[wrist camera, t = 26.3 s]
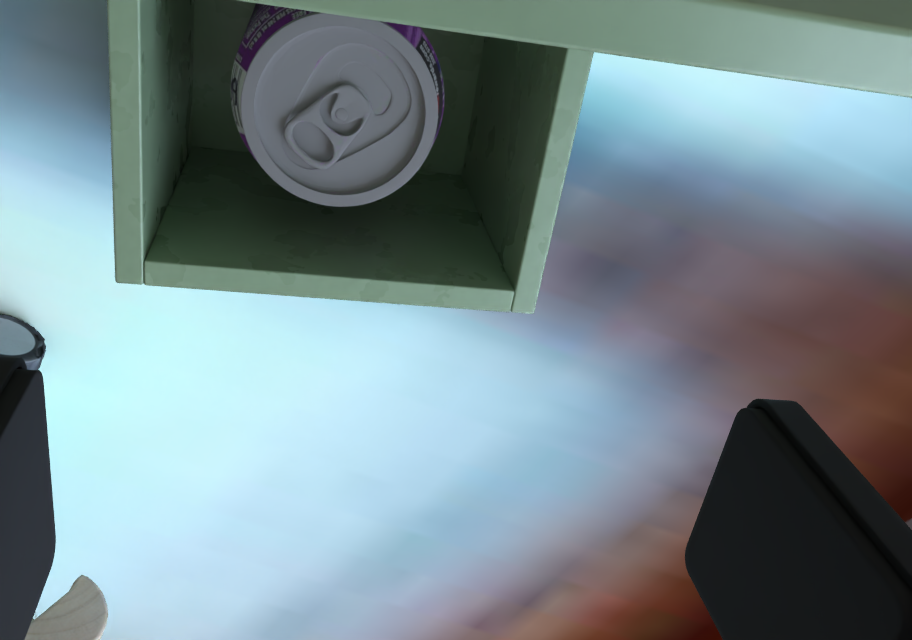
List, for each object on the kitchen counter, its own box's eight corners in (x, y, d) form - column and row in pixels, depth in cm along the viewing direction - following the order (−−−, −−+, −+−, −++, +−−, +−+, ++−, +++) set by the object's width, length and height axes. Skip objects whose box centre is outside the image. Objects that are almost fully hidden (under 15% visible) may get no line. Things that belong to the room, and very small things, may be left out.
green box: (472, 188, 42) (534, 315, 30) (174, 156, 39) (114, 283, 27) (539, -188, 34) (655, -211, 23) (176, -262, 31) (95, -332, 20)
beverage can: (334, 153, 39) (341, 260, 29) (215, 37, 36) (174, 111, 25) (446, 45, 37) (497, 118, 27) (332, -86, 34) (340, -61, 24)
